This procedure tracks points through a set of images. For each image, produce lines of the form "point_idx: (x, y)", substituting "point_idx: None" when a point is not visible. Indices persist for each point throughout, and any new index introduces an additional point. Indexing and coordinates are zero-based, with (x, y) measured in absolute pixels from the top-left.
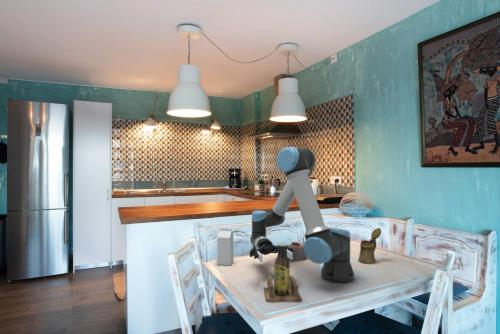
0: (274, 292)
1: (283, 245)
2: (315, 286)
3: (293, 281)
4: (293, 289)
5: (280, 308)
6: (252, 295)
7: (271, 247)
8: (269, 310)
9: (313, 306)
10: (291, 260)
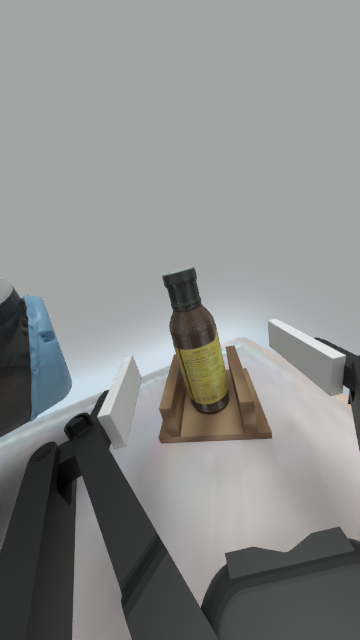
0: (229, 398)
1: (177, 270)
2: None
3: (174, 371)
4: None
5: None
6: (295, 398)
7: (240, 592)
8: None
9: (162, 368)
10: None
